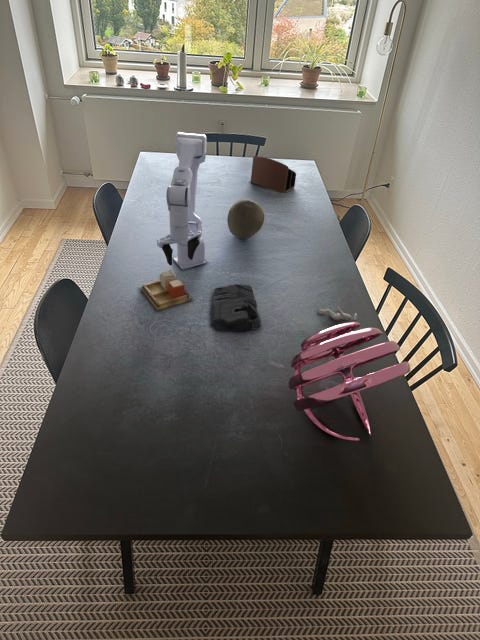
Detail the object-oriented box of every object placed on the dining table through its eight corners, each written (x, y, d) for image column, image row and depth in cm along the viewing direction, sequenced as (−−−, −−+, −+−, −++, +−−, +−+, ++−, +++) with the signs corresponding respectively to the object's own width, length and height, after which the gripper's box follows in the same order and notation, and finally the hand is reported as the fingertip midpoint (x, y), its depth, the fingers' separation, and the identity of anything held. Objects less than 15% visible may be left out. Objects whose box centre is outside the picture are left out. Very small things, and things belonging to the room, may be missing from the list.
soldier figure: (321, 309, 150) (359, 308, 145) (321, 324, 149) (358, 323, 144) (316, 305, 143) (355, 303, 138) (316, 320, 142) (355, 319, 137)
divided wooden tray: (173, 280, 156) (173, 275, 154) (190, 300, 147) (190, 295, 146) (141, 289, 150) (140, 284, 149) (157, 310, 142) (156, 305, 141)
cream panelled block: (171, 281, 153) (170, 269, 150) (176, 287, 151) (176, 275, 148) (160, 284, 152) (159, 272, 149) (165, 290, 149) (164, 278, 146)
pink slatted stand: (455, 416, 91) (401, 293, 97) (327, 464, 89) (279, 335, 94) (403, 418, 119) (363, 322, 124) (304, 454, 116) (268, 355, 121)
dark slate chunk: (257, 290, 154) (259, 278, 151) (261, 333, 137) (262, 320, 134) (212, 288, 153) (213, 276, 150) (210, 331, 136) (210, 318, 133)
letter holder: (284, 194, 216) (288, 165, 207) (250, 182, 224) (252, 154, 215) (294, 187, 223) (298, 159, 214) (260, 176, 231) (263, 148, 222)
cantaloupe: (242, 248, 175) (245, 213, 165) (219, 234, 182) (220, 199, 173) (268, 238, 182) (272, 203, 173) (245, 224, 190) (248, 190, 180)
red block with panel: (179, 290, 150) (178, 278, 147) (184, 296, 147) (184, 284, 144) (168, 293, 148) (167, 281, 145) (173, 300, 145) (173, 288, 142)
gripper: (162, 234, 133) (164, 272, 142) (206, 224, 140) (205, 261, 149) (153, 223, 138) (155, 261, 147) (195, 214, 144) (195, 251, 153)
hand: (180, 261), depth 148 cm, fingers open, 7 cm apart
